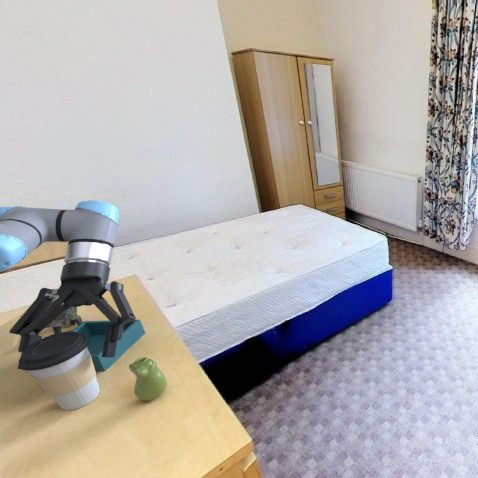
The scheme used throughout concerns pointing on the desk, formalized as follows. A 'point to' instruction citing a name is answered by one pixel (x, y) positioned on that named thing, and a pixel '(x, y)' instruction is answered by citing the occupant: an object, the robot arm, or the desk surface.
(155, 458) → the desk surface
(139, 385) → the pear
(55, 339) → the coffee cup
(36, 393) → the desk surface
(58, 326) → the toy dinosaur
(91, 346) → the tray
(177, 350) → the desk surface
